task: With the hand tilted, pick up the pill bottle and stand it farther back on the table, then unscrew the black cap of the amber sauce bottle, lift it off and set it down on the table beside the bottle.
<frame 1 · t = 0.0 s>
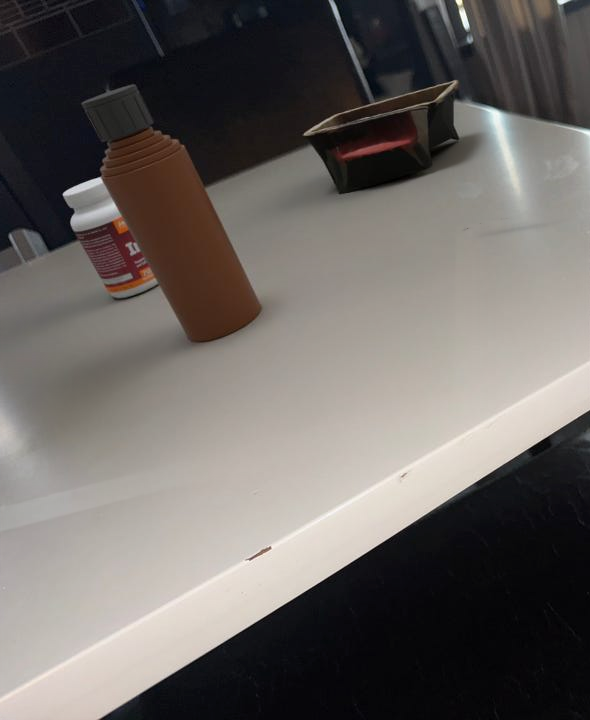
cap: (111, 99, 55), point 19 cm above the table, screwed on, not yet turned
pill bottle: (142, 287, 80), on the table
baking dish: (400, 167, 91), on the table
sauce bottle: (224, 321, 64), on the table
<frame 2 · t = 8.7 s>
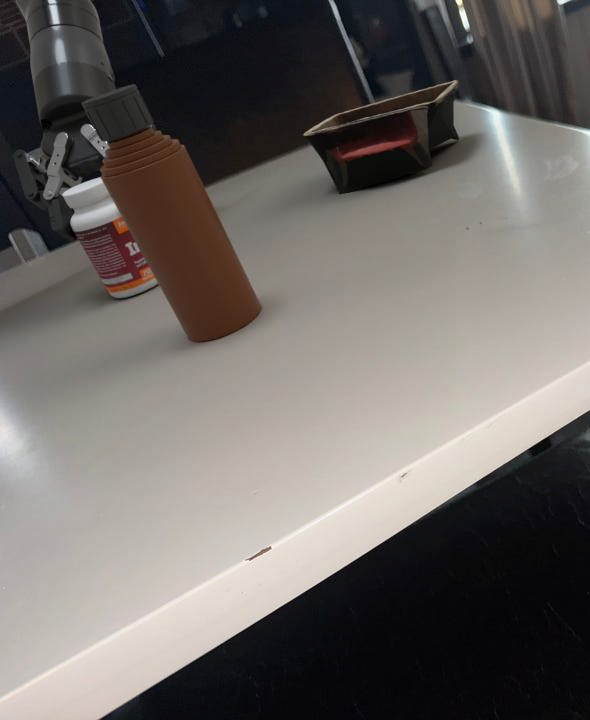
hand: (100, 225, 74), 7 cm above the table, tool tilted 45°, fingers closed on pill bottle, 6 cm apart
pill bottle: (142, 287, 80), on the table, touching gripper
everything else where it was.
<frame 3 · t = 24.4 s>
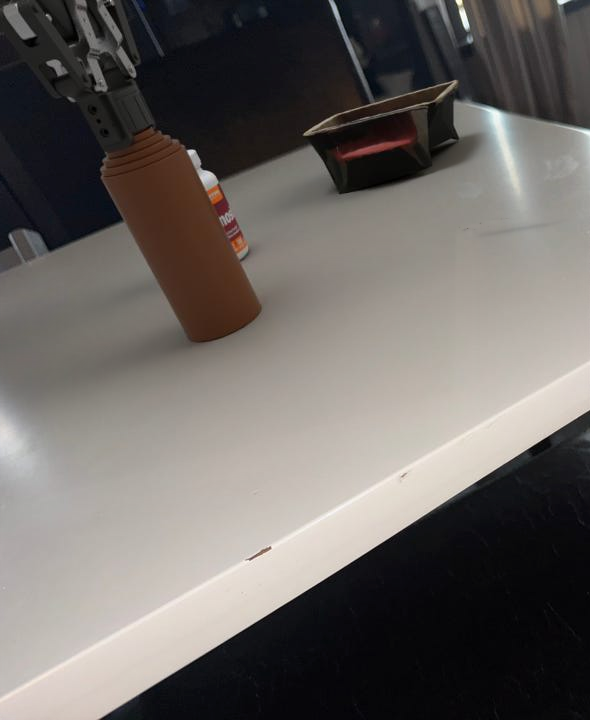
hand: (131, 139, 56), 16 cm above the table, tool pointing down, fingers closed on cap, 4 cm apart
cap: (111, 99, 55), point 19 cm above the table, screwed on, not yet turned, touching gripper
pill bottle: (222, 263, 79), on the table
sauce bottle: (224, 321, 64), on the table, touching gripper
everything else where it was.
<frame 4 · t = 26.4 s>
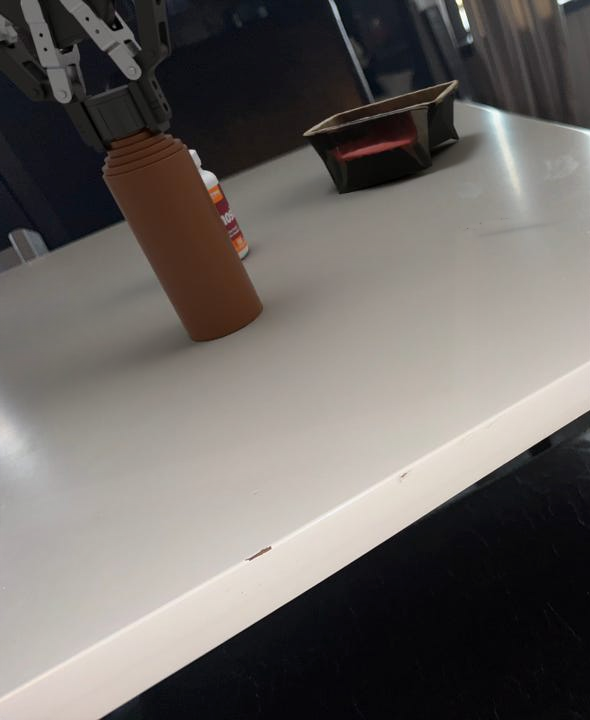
hand: (134, 138, 56), 16 cm above the table, tool pointing down, fingers closed on cap, 4 cm apart
cap: (112, 97, 55), point 19 cm above the table, turned 88° so far, risen 0.1 cm, still on its thread, touching gripper
sauce bottle: (226, 320, 64), on the table
everything else where it was.
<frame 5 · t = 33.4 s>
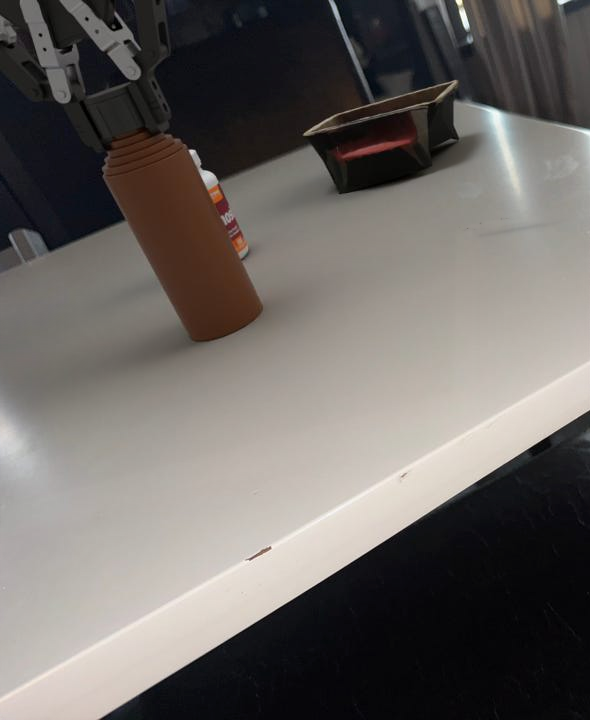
hand: (133, 138, 56), 16 cm above the table, tool pointing down, fingers closed on cap, 4 cm apart
cap: (112, 95, 55), point 19 cm above the table, turned 179° so far, risen 0.2 cm, still on its thread, touching gripper
everything else where it was.
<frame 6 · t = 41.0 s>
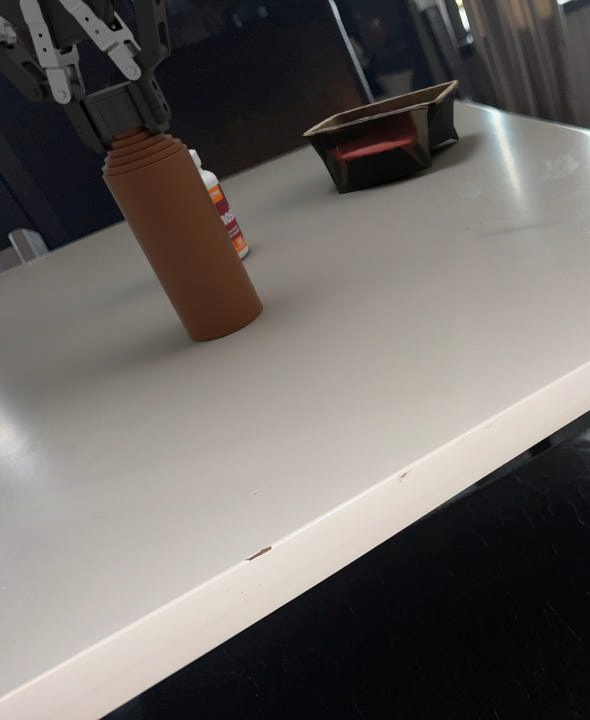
hand: (134, 139, 56), 16 cm above the table, tool pointing down, fingers closed on cap, 4 cm apart
cap: (111, 94, 55), point 19 cm above the table, turned 269° so far, risen 0.3 cm, still on its thread, touching gripper
sauce bottle: (226, 320, 64), on the table, touching gripper
everything else where it was.
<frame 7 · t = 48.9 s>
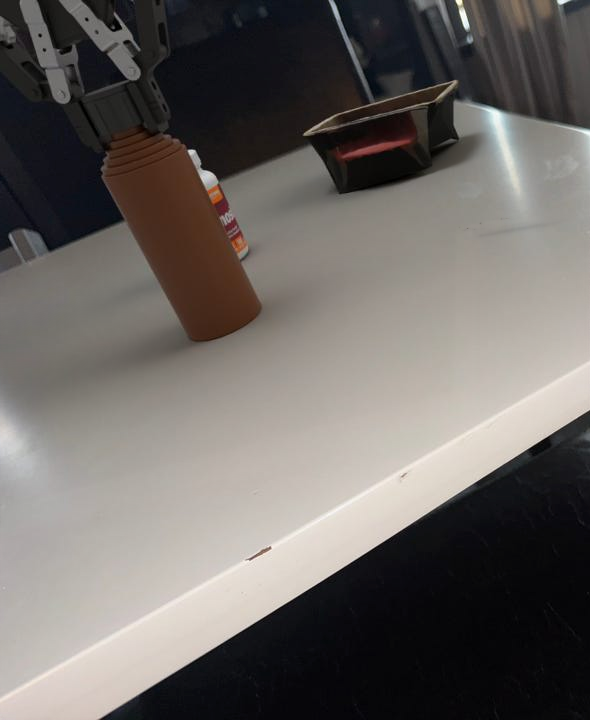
hand: (133, 139, 56), 16 cm above the table, tool pointing down, fingers closed on cap, 4 cm apart
cap: (109, 93, 55), point 19 cm above the table, turned 359° so far, risen 0.4 cm, still on its thread, touching gripper
everything else where it was.
when the fingers open (0 cm above the table, at t = 63.8 s): cap stays where it is, point 2 cm above the table.
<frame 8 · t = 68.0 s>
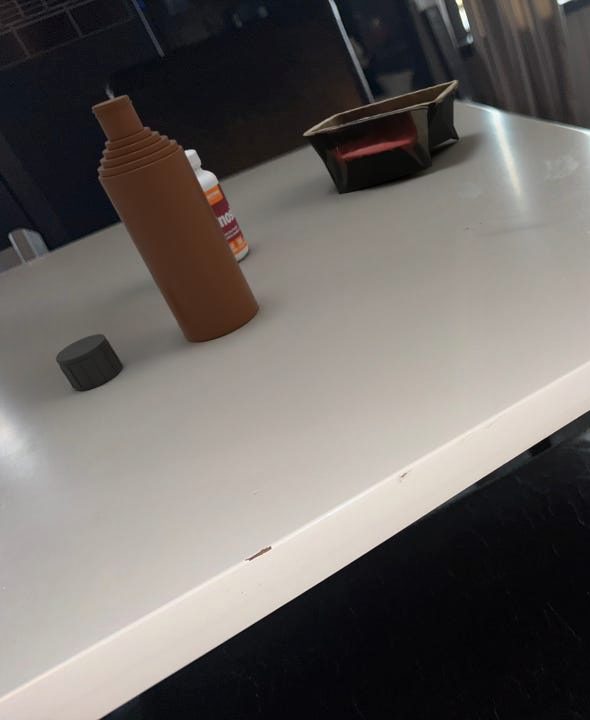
cap: (83, 351, 60), point 2 cm above the table, off its thread
sauce bottle: (222, 321, 64), on the table
everything else where it was.
at the end: cap came off its thread; cap point 2.4 cm above the table; pill bottle inside the target area (0.2 cm from its centre), on the table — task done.
